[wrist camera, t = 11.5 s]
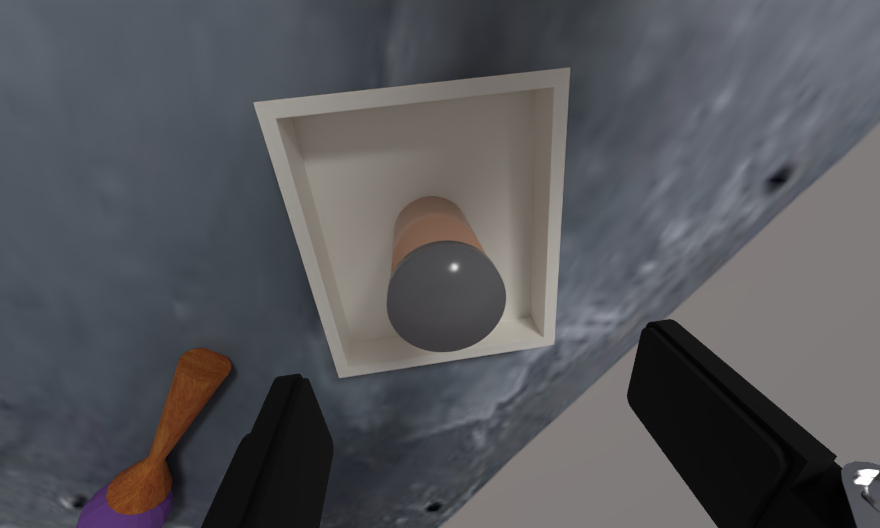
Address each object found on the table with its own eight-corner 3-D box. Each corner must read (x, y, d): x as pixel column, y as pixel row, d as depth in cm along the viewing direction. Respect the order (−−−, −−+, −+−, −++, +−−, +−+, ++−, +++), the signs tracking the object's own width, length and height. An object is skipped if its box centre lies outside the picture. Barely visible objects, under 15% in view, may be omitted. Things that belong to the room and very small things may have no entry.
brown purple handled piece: (242, 404, 23) (142, 574, 28) (255, 348, 28) (169, 500, 33) (137, 386, 21) (45, 579, 25) (173, 327, 26) (91, 497, 30)
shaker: (386, 200, 21) (376, 258, 13) (466, 189, 22) (505, 241, 14) (399, 272, 24) (397, 359, 16) (471, 262, 24) (507, 343, 16)
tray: (277, 102, 19) (253, 102, 16) (543, 73, 20) (570, 67, 17) (346, 346, 27) (339, 378, 24) (536, 317, 28) (554, 344, 24)
